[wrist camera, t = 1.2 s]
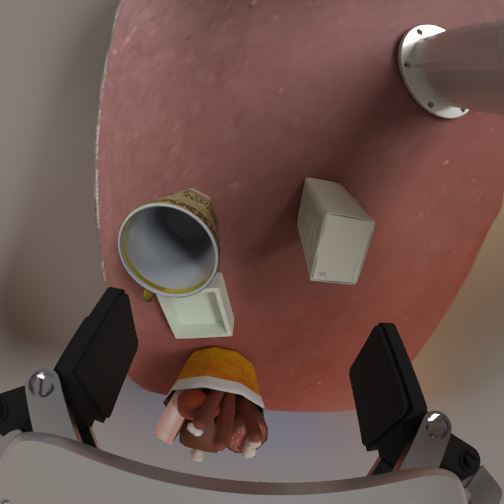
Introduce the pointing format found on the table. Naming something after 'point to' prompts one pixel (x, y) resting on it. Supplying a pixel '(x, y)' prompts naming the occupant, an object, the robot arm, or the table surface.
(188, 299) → the holder
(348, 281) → the skincare box
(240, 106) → the table surface
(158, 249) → the ceramic cup
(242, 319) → the table surface
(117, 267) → the table surface
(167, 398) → the bucket of meat
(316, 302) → the table surface
